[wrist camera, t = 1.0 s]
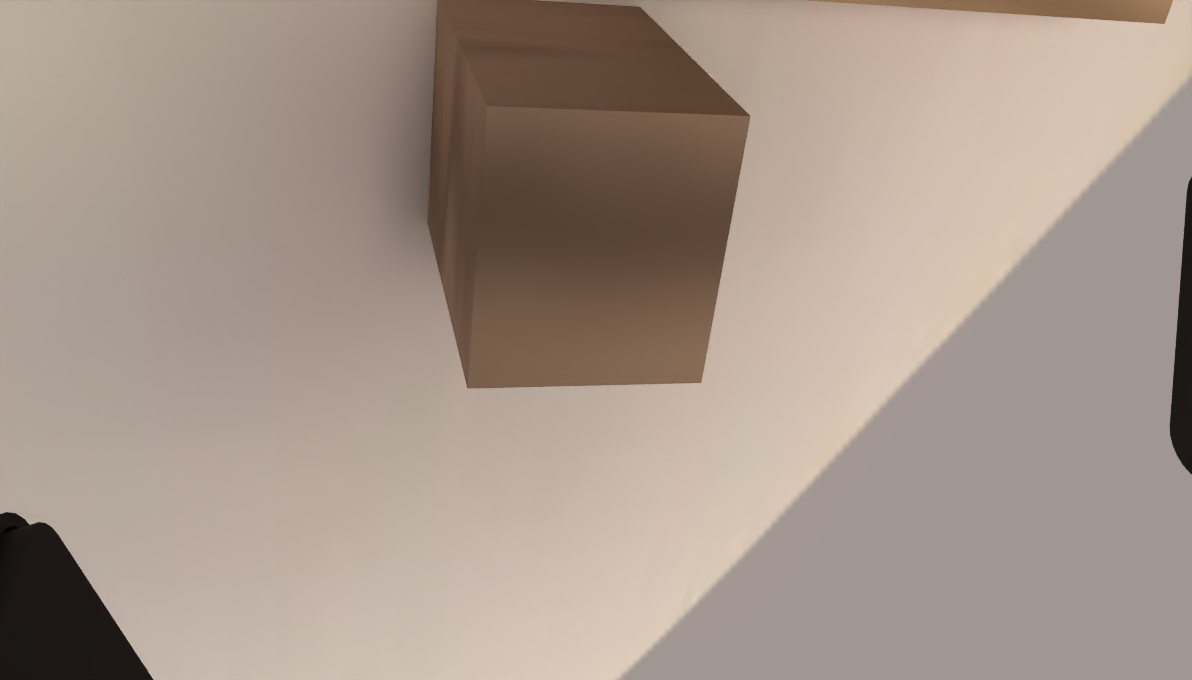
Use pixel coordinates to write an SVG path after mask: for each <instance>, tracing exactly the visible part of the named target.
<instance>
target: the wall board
mask: <svg viewBox="0 0 1192 680" xmlns="http://www.w3.org/2000/svg"><path fill="white" fill-rule="evenodd" d="M810 1H825V2H841V3H856V4H871V5H886V6H902V7H917V8H932V9H947V10H963V11H978V12H993V13H1008V14H1023V15H1039V16H1054V17H1069V18H1084V19H1100V20H1115V21H1130V22H1145V23H1160V24H1165V21H1166V18H1167V16H1168V13H1169V10H1170V7H1171V4H1172V1H1173V0H810Z"/></svg>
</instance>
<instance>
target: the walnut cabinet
mask: <svg viewBox="0 0 1192 680" xmlns="http://www.w3.org/2000/svg"><path fill="white" fill-rule="evenodd" d="M749 120H750V115H749V114H748V113H747V112H746V111H745V110H744V109H743V108H742V107H741V106H740V105H739V104H738V103H737V102H735V101H734V100H733V99H732V98H731V97H730V96H729V95H728V94H727V93H726V92H725V91H724V90H723V89H722V88H721V87H720V86H719V85H718V84H717V83H716V82H715V81H714V80H713V79H712V78H711V77H710V76H709V75H708V74H707V73H706V72H705V71H704V70H703V69H702V68H701V67H700V66H699V65H698V64H697V63H696V62H695V61H694V60H693V59H692V58H691V57H690V56H689V55H688V54H687V53H686V52H685V51H684V50H683V49H682V48H681V47H680V46H679V45H678V44H677V43H676V42H675V41H674V40H673V39H672V38H671V37H670V36H669V35H668V34H667V33H666V32H665V31H664V30H663V29H662V28H661V27H660V26H659V25H658V24H657V23H656V22H655V21H654V20H652V19H651V18H650V17H649V16H648V15H647V14H646V13H645V12H644V11H643V10H642V9H641V8H640V7H632V6H616V5H600V4H584V3H567V2H551V1H535V0H438V3H437V25H436V48H435V70H434V92H433V115H432V137H431V159H430V181H429V204H428V226H429V231H430V235H431V239H432V243H433V247H434V251H435V255H436V260H437V264H438V268H439V272H440V276H441V280H442V285H443V289H444V293H445V297H446V301H447V305H448V309H449V314H450V318H451V322H452V326H453V330H454V334H455V338H456V343H457V347H458V351H459V355H460V359H461V363H462V367H463V372H464V376H465V380H466V384H467V388H505V387H546V386H588V385H630V384H671V383H701V381H702V375H703V370H704V364H705V359H706V353H707V348H708V343H709V337H710V332H711V326H712V321H713V315H714V310H715V305H716V299H717V294H718V288H719V283H720V278H721V272H722V267H723V261H724V256H725V250H726V245H727V240H728V234H729V229H730V223H731V218H732V213H733V207H734V202H735V196H736V191H737V185H738V180H739V175H740V169H741V164H742V158H743V153H744V147H745V142H746V137H747V131H748V126H749Z"/></svg>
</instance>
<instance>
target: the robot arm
mask: <svg viewBox="0 0 1192 680" xmlns="http://www.w3.org/2000/svg"><path fill="white" fill-rule="evenodd" d="M1170 436H1171V440H1172V444H1173V447H1174V449H1175V452H1176V454H1177V456H1178V458H1179V459H1180V461H1181V463H1182V464H1183V465H1184V467H1185V468H1186V469H1187V470H1188V471H1189V472H1190V473H1191V474H1192V177H1191V179H1190V181H1189V184H1188V189H1187V198H1186V213H1185V227H1184V239H1183V253H1182V267H1181V280H1180V294H1179V308H1178V321H1177V335H1176V349H1175V363H1174V376H1173V390H1172V404H1171V417H1170ZM0 680H153V678H152V677H151V675H150V674H149V672H148V671H147V669H146V668H145V666H144V665H143V663H142V662H141V660H140V659H139V657H138V656H137V654H136V653H135V651H134V650H133V648H132V646H131V645H130V643H129V642H128V640H127V639H126V637H125V636H124V634H123V633H122V631H121V630H120V628H119V627H118V625H117V624H116V622H115V621H114V619H113V618H112V616H111V615H110V613H109V611H108V610H107V608H106V607H105V605H104V604H103V602H102V601H101V599H100V598H99V596H98V595H97V593H96V592H95V590H94V589H93V587H92V586H91V584H90V583H89V581H88V580H87V578H86V576H85V575H84V573H83V572H82V570H81V569H80V567H79V566H78V564H77V563H76V561H75V560H74V558H73V557H72V555H71V554H70V552H69V551H68V549H67V548H66V546H65V545H64V543H63V541H62V540H61V538H60V537H59V535H58V534H57V533H56V532H55V531H54V529H53V528H52V527H51V526H49V525H48V524H46V523H41V522H38V523H35V524H31V525H29V524H28V523H27V521H26V520H25V519H23V518H22V517H20V516H19V515H17V514H16V513H9V512H6V513H3V514H0Z"/></svg>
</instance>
